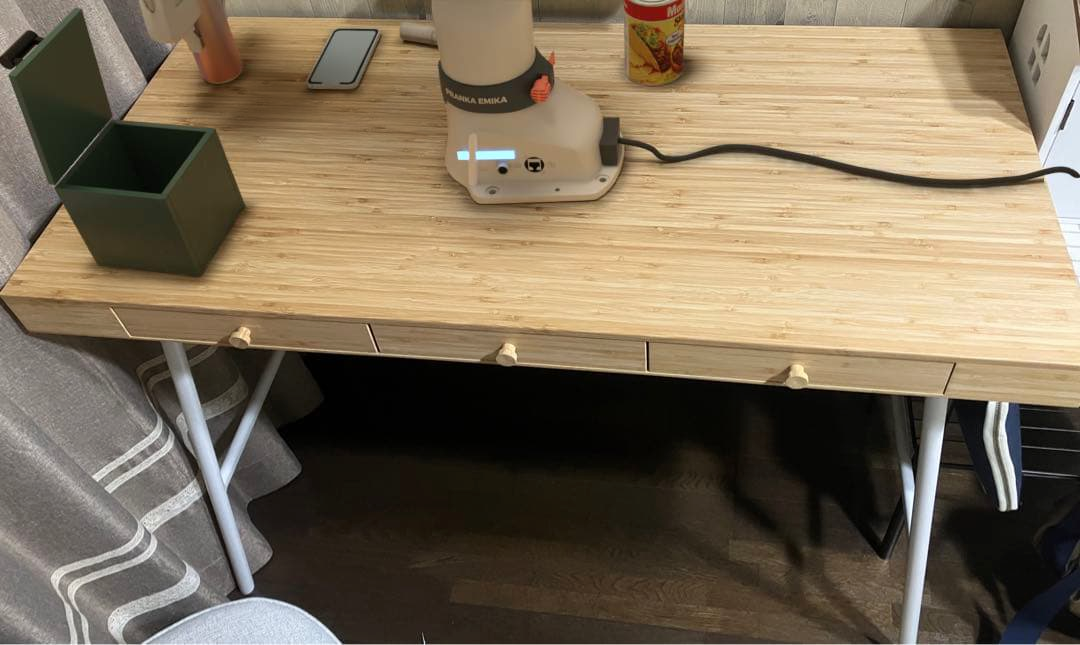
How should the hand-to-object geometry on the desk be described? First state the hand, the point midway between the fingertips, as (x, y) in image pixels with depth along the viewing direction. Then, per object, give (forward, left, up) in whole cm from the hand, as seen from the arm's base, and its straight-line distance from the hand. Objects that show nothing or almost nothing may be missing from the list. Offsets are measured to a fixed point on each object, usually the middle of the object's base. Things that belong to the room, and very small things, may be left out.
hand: (210, 35), depth 141 cm
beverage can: (0, 0, -6) cm, 6 cm away
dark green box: (-9, +33, -6) cm, 35 cm away
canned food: (-61, -8, -6) cm, 62 cm away
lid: (-4, +33, +13) cm, 36 cm away
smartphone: (-17, -5, -6) cm, 19 cm away
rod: (-30, -11, -6) cm, 32 cm away
